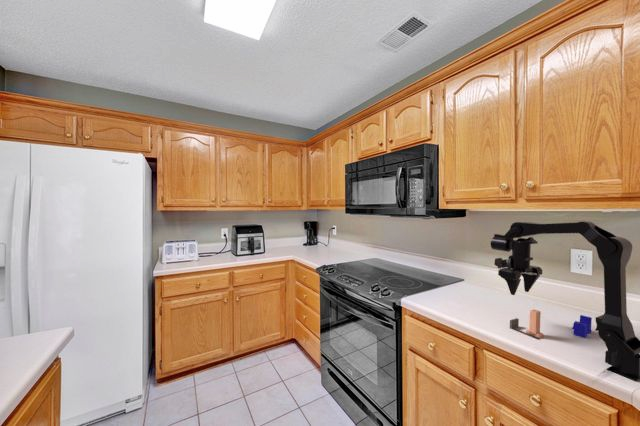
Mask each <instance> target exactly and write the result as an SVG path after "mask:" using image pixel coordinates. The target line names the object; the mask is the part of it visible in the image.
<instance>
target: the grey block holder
mask: <svg viewBox="0 0 640 426" xmlns="http://www.w3.org/2000/svg"><path fill="white" fill-rule="evenodd" d="M519 322H520V321H519V318H517V317H516V318H513V319H510V320H509V329H511V330H513V331H516V332H518V333H521V334H522V335H526V336H528V337H530V338H533V339H535V340H540V338H538V337H535V336H533V335H530V334H528V333H526V331H522V330H521V329H520V330H519V329H517V328H519Z"/></svg>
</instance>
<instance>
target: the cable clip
mask: <svg viewBox="0 0 640 426" xmlns="http://www.w3.org/2000/svg"><path fill="white" fill-rule="evenodd" d="M571 329H572V330H573V336H577V337H580V338H583V339H585V338H586V337H587V336H588V335H590V334H591V333H592V317H591V316H587V315H583V314H580V316H579V321H577V320H575V321H574V322H573V325H572V328H571Z"/></svg>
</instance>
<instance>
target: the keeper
mask: <svg viewBox="0 0 640 426" xmlns="http://www.w3.org/2000/svg"><path fill="white" fill-rule="evenodd" d="M528 326H529V327H528V328H527V329H526V331H525V333H528V334H530V335H533V336H535V337H538V338H539V339H541V338H543V337H544V333H543V332H541V311H540V310H538V309H531V310H529V325H528Z"/></svg>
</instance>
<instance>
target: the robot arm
mask: <svg viewBox="0 0 640 426" xmlns="http://www.w3.org/2000/svg"><path fill="white" fill-rule="evenodd" d="M509 228H510V229H509V230H508V231H506V233H505V234H499V233H495V234H493V237H492V238H491V241H490V247H491V249H492V250H495V251H501V252H507V253H509V252H511V255H509V256H508V258H507V259H503V258H502V257H498V258H495V259H494V265H495V267H497V269H498V270H497V271H498V273H497V276H500V278H502V280H504V281H505V282H506V284H507V287H508V289H509V292H510V295H512V296H515V295H516V293H517V290H518V288H519V285H520V283H521V280H522V279H521V277H522V278H523V286H524V287H523V288H524V292H525V293H528V292H530V290H531V289H532V287H533V286H534V284H536V282H537V280H538V279H539V278H541V275H543V269H542V268H541V267H540V266H536V265H531V261H534V257H532V256H531V250H532V249H531V248H532V246H531V245H533V244H534V245H537V244H538V243H539V242H538V241H537V240H536V239H535V238H534V237H532V236H537V235H543V234H544V235H545V234H547V235H548V234H579V235H581V236H582V237H583V238H584V239H585V240H586V241H587V242H588V243H590V244H591V245H592V246H594V247H595V249H596V252H597V257H598V259H599V260H600V262H601V264H602V266H603V286H604V287H603V289H604V290H603V291H604V314H601V315H599V316H596V317H595V324H596V326H595V327H596V328H595V331H596V332H597V333H598V337H599V338H600V339H602V341H603V342H604V344H605V347H606V349H607V350H606V351H605V353H604V354H605V357H604V363H605V364H606V363H607V365H610V367H607V368H606V370H608V371H611V372H613V373H616V374H618V375H620V376H622V377H625V378H627V379H630V380H633V381H636V382H637V381H639V380H640V339H639V338H638V337H637V336H636V334H635V329H634V327H633V324H632V322H631V320H630V318H629V316H628V313H627V310H628V308H627V307H628V306H627V281H626V280H627V278H626V275H627V273H626V272H627V271H626V269H627V265H628V263H629V261H630V259H631V255H632V250H633V244H632V242H631V241H630V240H628V239H626V238H625V237H622V236H617V235H615V234H614V233H612V232H611V231H608V230H605V229H604V228H602V227H599V226H598V225H596V223H593V222H592V221H587V220H586V221H585V220H583V221H577V222H559V223H558V222H557V223H539V222H533V221H532V222H531V221H516V222H513V223H512V224H511V225H510V227H509ZM525 237H528V238H525Z"/></svg>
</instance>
